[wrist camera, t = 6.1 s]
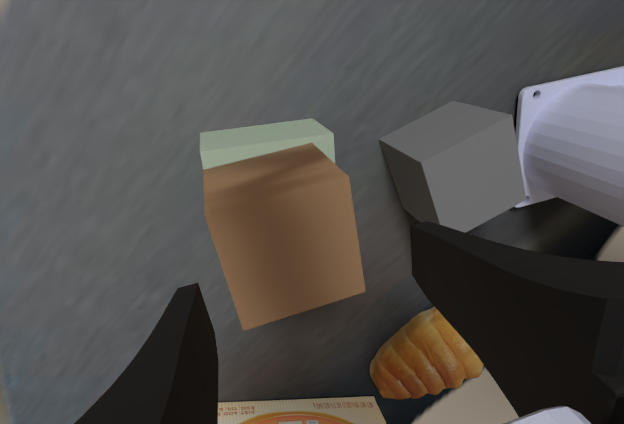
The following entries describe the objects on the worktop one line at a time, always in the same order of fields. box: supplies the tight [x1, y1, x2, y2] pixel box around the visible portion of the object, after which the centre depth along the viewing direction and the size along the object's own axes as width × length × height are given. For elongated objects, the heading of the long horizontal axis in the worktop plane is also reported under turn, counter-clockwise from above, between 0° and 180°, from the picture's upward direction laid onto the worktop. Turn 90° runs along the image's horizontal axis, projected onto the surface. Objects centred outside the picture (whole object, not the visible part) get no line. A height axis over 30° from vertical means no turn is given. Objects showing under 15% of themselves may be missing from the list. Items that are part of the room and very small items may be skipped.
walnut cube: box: [203, 143, 366, 331], centre depth 16 cm, size 5×5×5 cm
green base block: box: [200, 119, 335, 170], centre depth 21 cm, size 6×6×4 cm
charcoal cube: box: [379, 101, 526, 233], centre depth 22 cm, size 5×5×5 cm
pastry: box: [369, 306, 484, 399], centre depth 29 cm, size 9×7×4 cm
